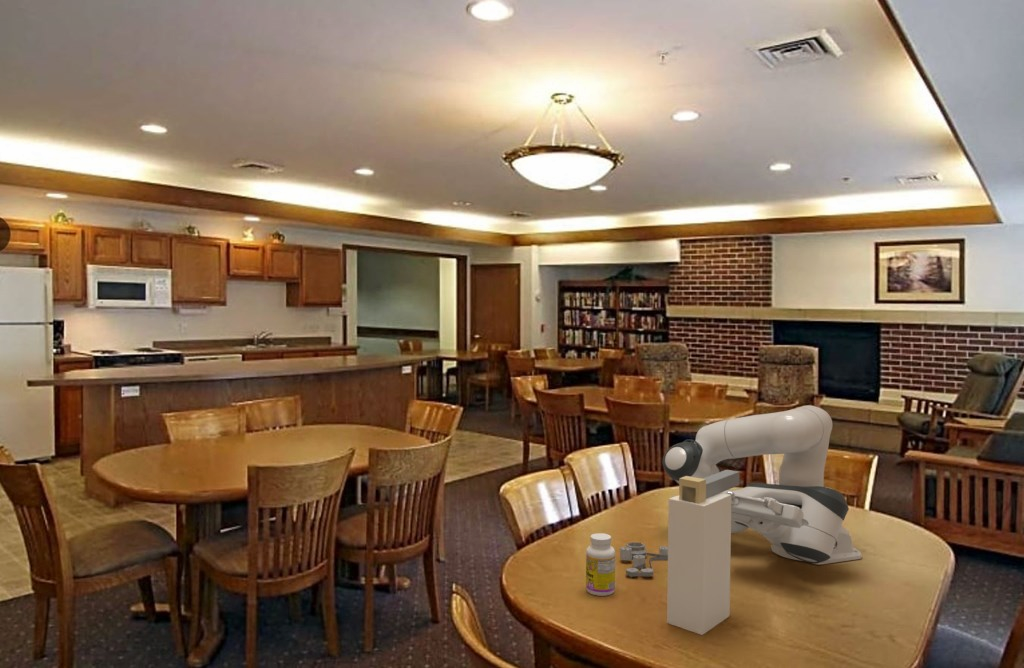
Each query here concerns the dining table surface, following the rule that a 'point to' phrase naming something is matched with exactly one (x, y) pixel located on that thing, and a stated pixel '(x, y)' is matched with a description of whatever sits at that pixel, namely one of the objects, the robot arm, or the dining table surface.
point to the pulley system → (641, 558)
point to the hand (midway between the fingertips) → (747, 498)
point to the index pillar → (699, 562)
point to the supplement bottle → (600, 565)
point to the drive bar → (706, 486)
